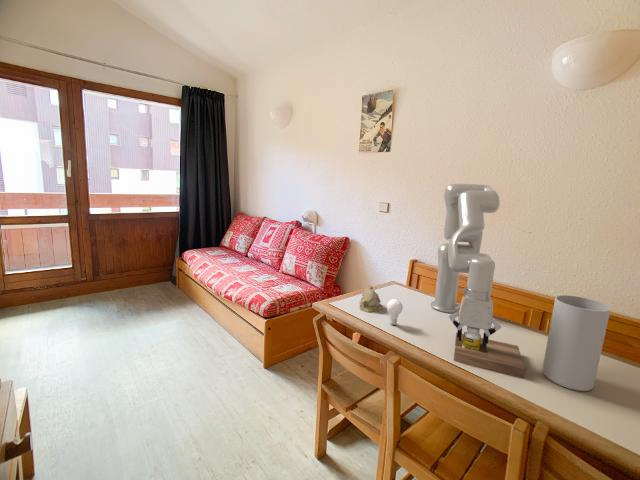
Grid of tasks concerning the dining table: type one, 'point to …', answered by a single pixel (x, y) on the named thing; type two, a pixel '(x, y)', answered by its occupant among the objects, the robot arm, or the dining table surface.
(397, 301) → the lightbulb
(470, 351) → the notched board
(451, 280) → the robot arm
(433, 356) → the dining table surface
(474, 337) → the supplement bottle
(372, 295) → the ceramic model
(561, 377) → the cylinder vase
